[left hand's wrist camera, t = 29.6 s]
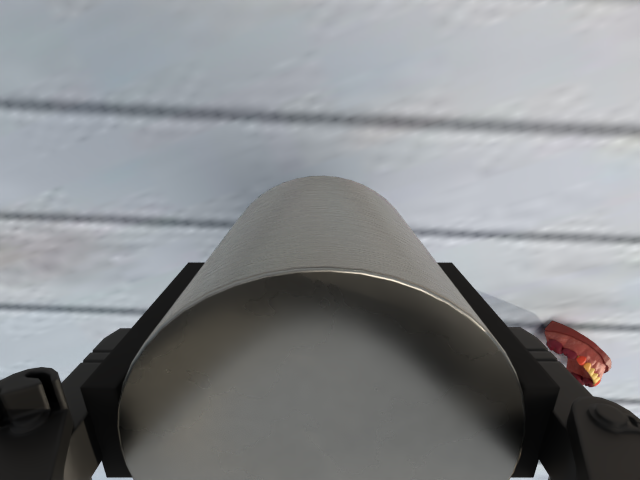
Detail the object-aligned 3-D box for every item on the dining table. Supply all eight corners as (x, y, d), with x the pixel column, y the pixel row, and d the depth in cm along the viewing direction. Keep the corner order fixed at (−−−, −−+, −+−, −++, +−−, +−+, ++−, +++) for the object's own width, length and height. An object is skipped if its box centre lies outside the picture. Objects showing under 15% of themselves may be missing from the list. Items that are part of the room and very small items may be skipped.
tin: (187, 266, 16) (33, 445, 7) (325, 130, 14) (333, 161, 5) (317, 376, 18) (314, 613, 10) (453, 273, 16) (604, 457, 8)
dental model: (635, 391, 26) (536, 439, 28) (595, 355, 30) (511, 399, 32) (602, 340, 25) (501, 394, 27) (565, 310, 29) (479, 358, 31)
